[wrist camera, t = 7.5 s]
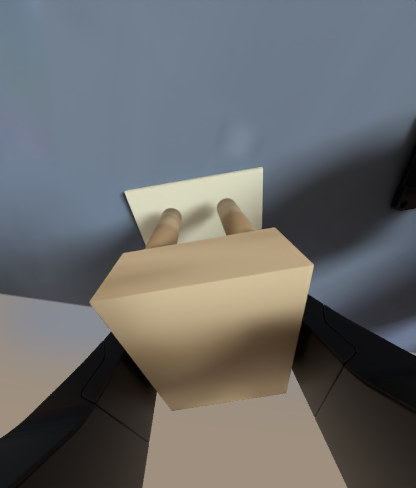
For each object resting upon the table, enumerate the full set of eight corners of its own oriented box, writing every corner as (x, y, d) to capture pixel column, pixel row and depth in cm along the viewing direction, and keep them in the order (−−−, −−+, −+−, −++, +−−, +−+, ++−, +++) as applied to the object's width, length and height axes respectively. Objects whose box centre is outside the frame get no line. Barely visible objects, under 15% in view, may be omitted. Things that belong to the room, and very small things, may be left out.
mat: (260, 166, 11) (262, 167, 10) (259, 271, 15) (261, 275, 15) (126, 190, 11) (124, 191, 11) (164, 287, 15) (164, 291, 15)
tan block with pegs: (243, 280, 13) (286, 393, 7) (182, 291, 13) (171, 410, 7) (238, 192, 10) (314, 265, 4) (155, 207, 10) (89, 302, 4)
